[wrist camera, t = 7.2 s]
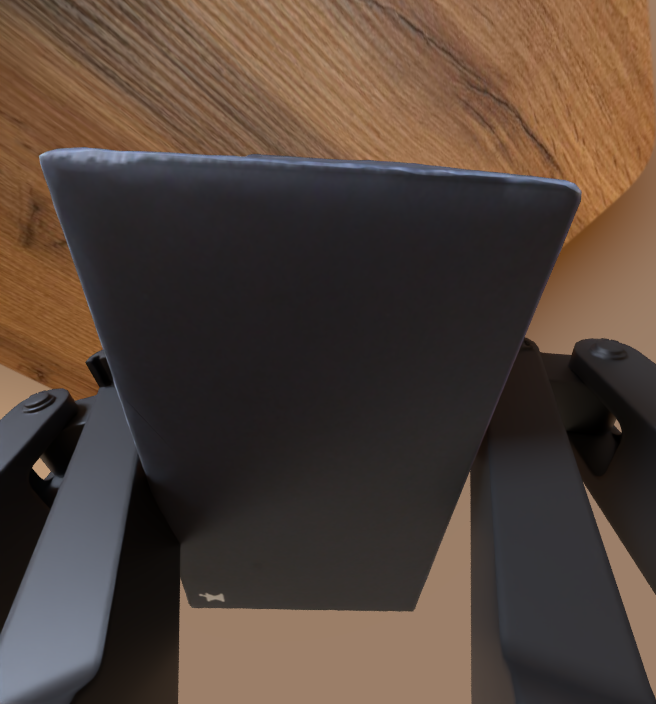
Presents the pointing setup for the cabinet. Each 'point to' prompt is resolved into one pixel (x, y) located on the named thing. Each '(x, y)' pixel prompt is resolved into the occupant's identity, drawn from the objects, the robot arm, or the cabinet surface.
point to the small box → (306, 352)
